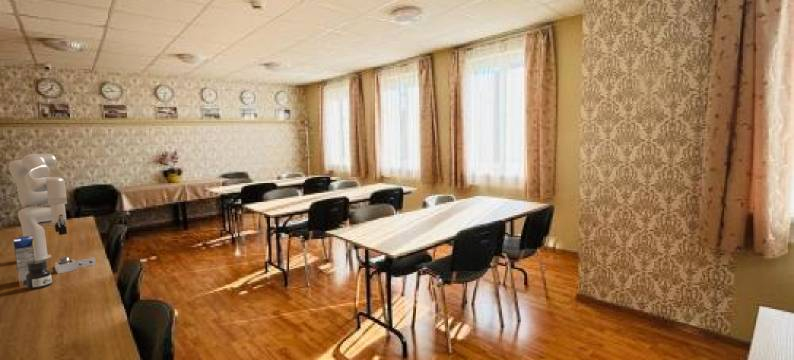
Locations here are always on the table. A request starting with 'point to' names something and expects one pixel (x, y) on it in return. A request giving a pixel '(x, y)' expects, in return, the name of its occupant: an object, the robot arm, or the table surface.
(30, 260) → the beverage box
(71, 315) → the table surface
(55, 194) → the robot arm
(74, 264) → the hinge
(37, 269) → the ink bottle
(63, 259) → the grey upright cylinder
